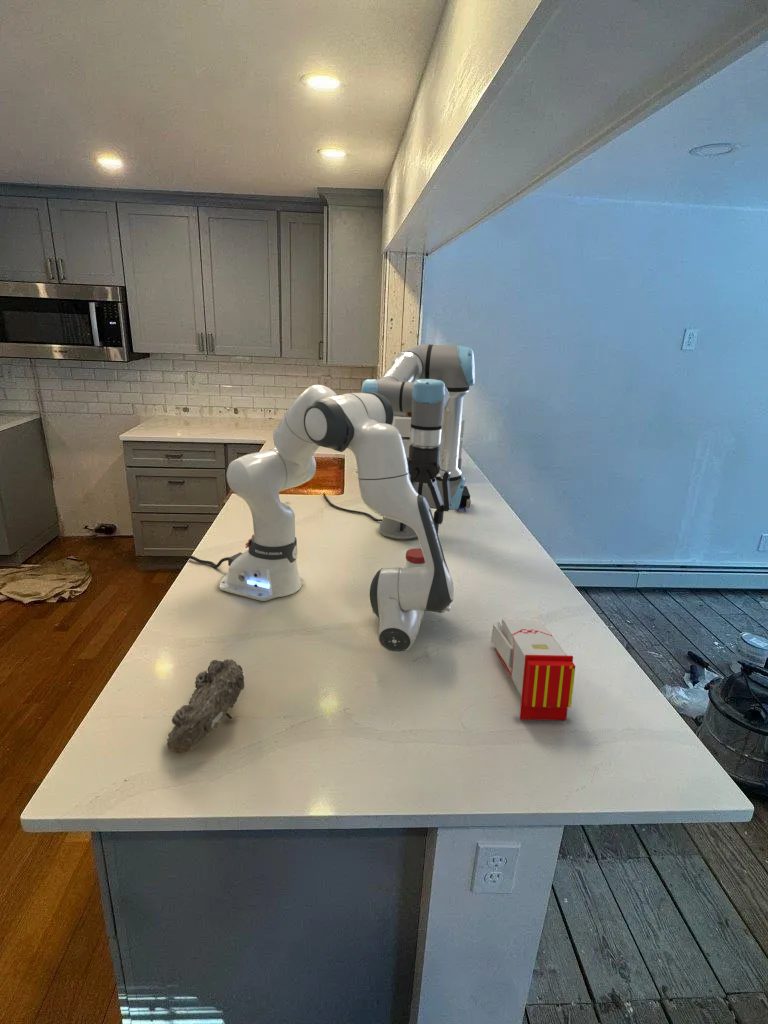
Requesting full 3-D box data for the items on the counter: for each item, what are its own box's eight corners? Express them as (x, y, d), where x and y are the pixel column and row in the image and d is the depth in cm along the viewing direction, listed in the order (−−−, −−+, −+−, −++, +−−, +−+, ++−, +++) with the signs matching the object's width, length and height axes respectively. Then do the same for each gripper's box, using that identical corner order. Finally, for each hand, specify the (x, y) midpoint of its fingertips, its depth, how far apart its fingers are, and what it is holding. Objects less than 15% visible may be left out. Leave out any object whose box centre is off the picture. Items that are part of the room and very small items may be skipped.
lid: (407, 564, 144) (408, 558, 144) (403, 554, 150) (404, 548, 149) (430, 563, 145) (431, 557, 145) (425, 553, 151) (426, 548, 150)
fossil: (192, 660, 117) (244, 628, 112) (224, 691, 120) (276, 661, 115) (142, 746, 98) (202, 712, 93) (182, 779, 101) (242, 748, 96)
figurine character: (470, 516, 223) (465, 500, 237) (473, 499, 220) (467, 484, 233) (453, 516, 223) (449, 500, 236) (455, 498, 220) (451, 483, 233)
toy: (537, 603, 136) (584, 662, 106) (532, 655, 138) (577, 726, 109) (487, 602, 135) (520, 661, 106) (483, 654, 138) (514, 725, 109)
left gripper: (450, 601, 135) (455, 576, 148) (366, 589, 138) (379, 565, 151) (448, 624, 137) (453, 597, 150) (366, 611, 141) (378, 587, 153)
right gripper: (470, 447, 137) (462, 534, 145) (390, 437, 144) (386, 520, 152) (463, 453, 131) (454, 544, 138) (379, 442, 137) (375, 530, 145)
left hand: (415, 581), depth 151 cm, fingers open, 8 cm apart
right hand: (418, 532), depth 145 cm, fingers open, 8 cm apart
